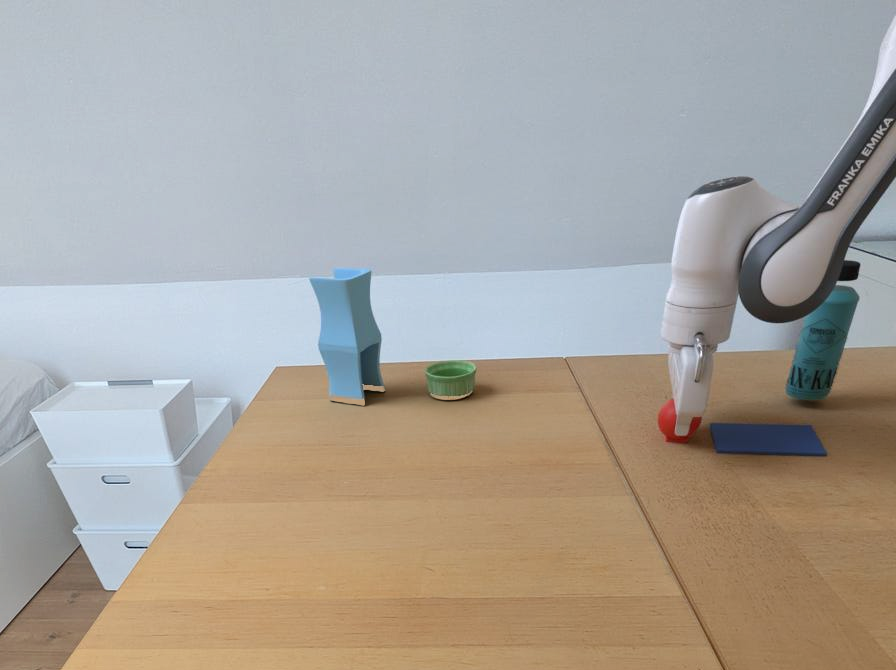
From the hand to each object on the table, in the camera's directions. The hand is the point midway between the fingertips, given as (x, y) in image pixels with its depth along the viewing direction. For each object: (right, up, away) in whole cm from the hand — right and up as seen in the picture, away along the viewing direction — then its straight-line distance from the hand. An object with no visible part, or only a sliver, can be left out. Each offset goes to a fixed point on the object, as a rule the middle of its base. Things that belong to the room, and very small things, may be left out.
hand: (679, 424), depth 101 cm
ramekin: (-32, +12, +22) cm, 41 cm away
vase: (-49, +12, +24) cm, 56 cm away
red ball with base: (0, -2, +1) cm, 2 cm away
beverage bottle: (+23, +6, +9) cm, 25 cm away
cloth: (+12, -3, -1) cm, 12 cm away
